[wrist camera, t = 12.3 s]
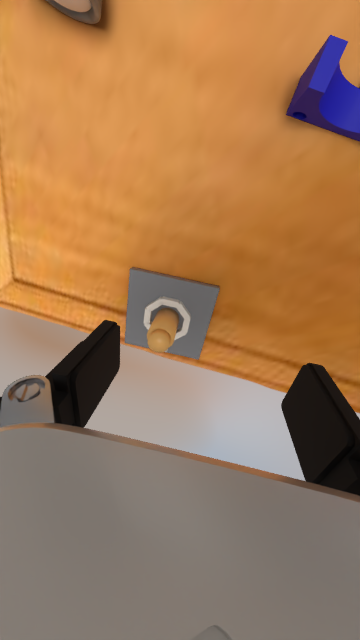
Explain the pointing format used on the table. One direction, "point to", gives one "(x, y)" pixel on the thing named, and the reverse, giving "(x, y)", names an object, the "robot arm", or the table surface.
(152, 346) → the tan wooden peg
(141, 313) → the plate
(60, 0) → the pipe fitting
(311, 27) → the table surface
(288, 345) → the table surface
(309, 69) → the cable clip
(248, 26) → the table surface
